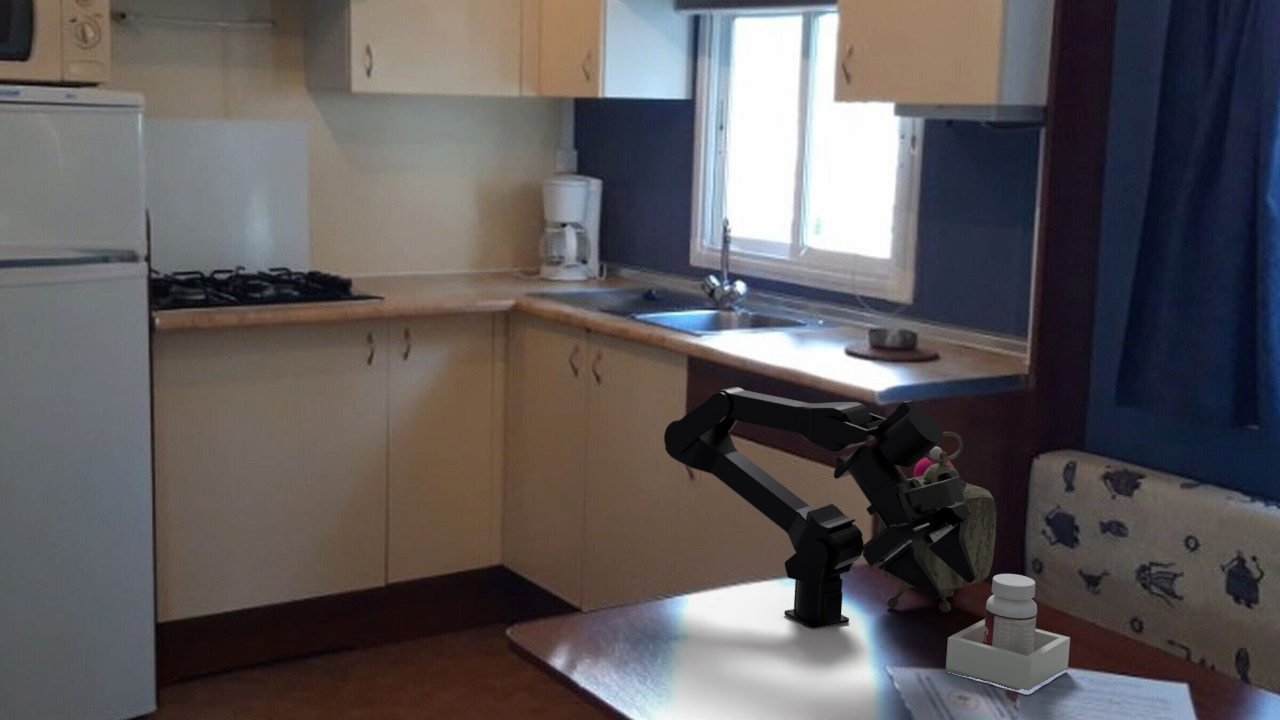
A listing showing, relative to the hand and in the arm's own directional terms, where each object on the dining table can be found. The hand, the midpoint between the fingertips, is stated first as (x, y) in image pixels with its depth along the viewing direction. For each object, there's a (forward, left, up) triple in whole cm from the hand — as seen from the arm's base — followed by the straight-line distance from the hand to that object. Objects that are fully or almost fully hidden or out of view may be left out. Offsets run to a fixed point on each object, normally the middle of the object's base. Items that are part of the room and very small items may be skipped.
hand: (955, 589), depth 197 cm
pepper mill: (-27, +19, -9) cm, 34 cm away
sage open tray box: (+7, +3, -9) cm, 12 cm away
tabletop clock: (-16, +11, -9) cm, 21 cm away
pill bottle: (+7, +3, -8) cm, 11 cm away
